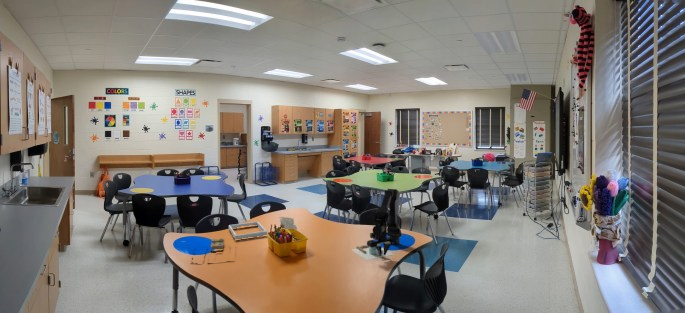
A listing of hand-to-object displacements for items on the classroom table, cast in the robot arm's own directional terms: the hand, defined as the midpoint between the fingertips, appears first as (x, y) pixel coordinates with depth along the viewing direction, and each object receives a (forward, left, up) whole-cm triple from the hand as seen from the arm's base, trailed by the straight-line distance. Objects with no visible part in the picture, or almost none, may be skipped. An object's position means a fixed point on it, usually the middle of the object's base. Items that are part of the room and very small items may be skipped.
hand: (382, 255), depth 222 cm
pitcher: (+38, -70, -2) cm, 79 cm away
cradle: (0, -17, -1) cm, 17 cm away
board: (0, -12, -2) cm, 12 cm away
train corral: (+63, -95, -2) cm, 114 cm away
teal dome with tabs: (0, -7, -2) cm, 8 cm away
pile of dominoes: (+91, -58, -3) cm, 108 cm away
